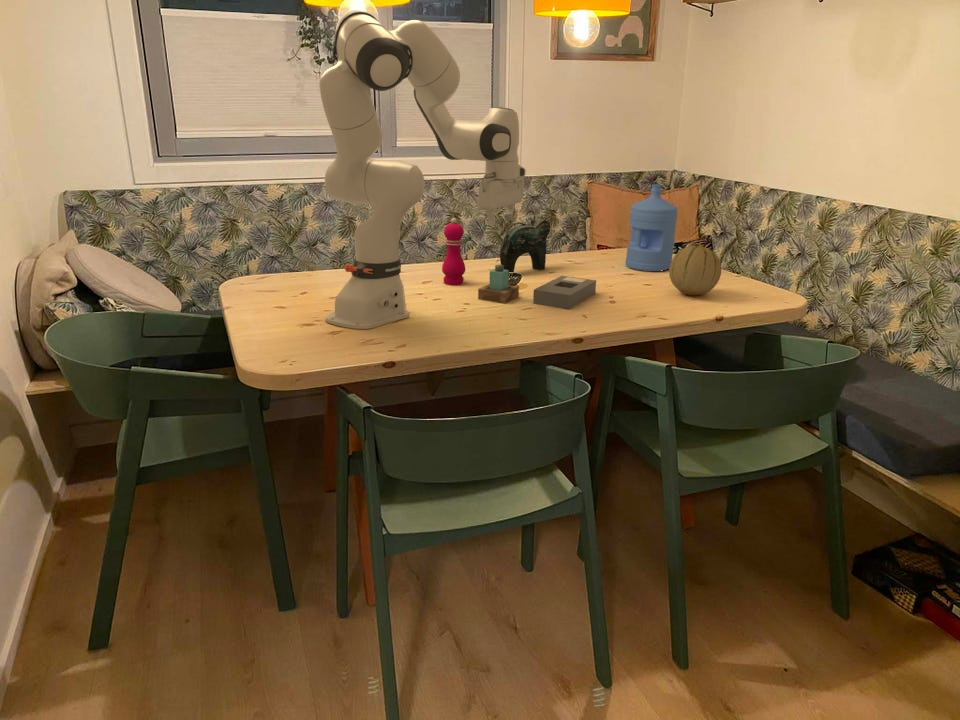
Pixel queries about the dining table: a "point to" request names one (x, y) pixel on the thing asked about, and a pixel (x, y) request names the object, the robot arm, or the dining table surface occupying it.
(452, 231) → the pepper mill
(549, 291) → the block
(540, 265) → the dark green animal figurine
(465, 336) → the dining table surface
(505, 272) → the plug
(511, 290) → the brown wooden box
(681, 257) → the cantaloupe
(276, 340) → the dining table surface
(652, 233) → the water jug
